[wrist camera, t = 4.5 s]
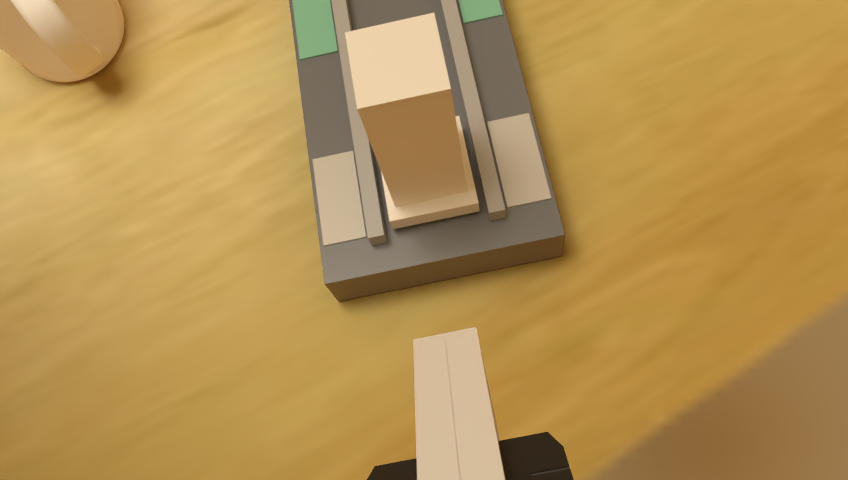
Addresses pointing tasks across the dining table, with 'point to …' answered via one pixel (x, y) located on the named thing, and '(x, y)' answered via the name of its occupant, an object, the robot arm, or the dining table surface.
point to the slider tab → (411, 120)
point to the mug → (61, 36)
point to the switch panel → (484, 137)
